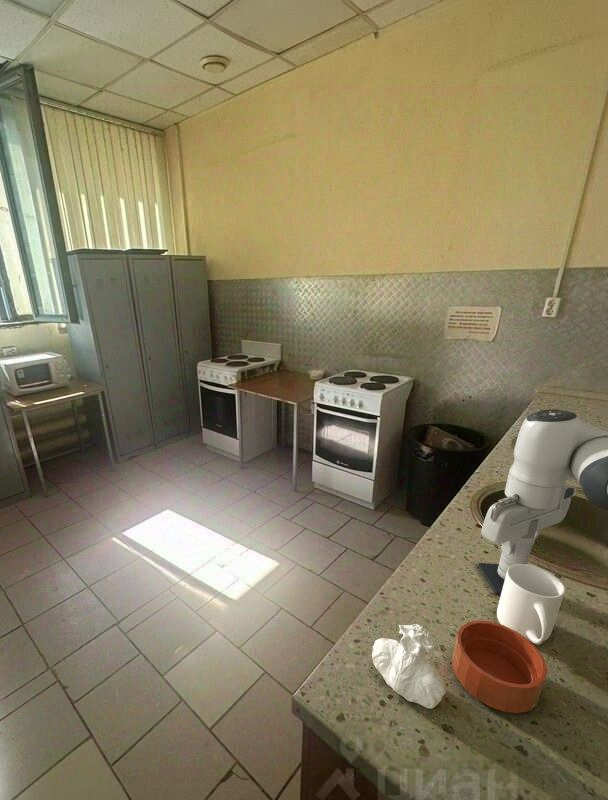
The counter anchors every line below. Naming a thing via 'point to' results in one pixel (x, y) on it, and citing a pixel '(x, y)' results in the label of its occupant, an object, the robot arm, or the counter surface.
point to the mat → (492, 576)
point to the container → (518, 550)
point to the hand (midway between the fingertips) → (517, 548)
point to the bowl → (498, 666)
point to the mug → (530, 601)
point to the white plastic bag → (410, 666)
